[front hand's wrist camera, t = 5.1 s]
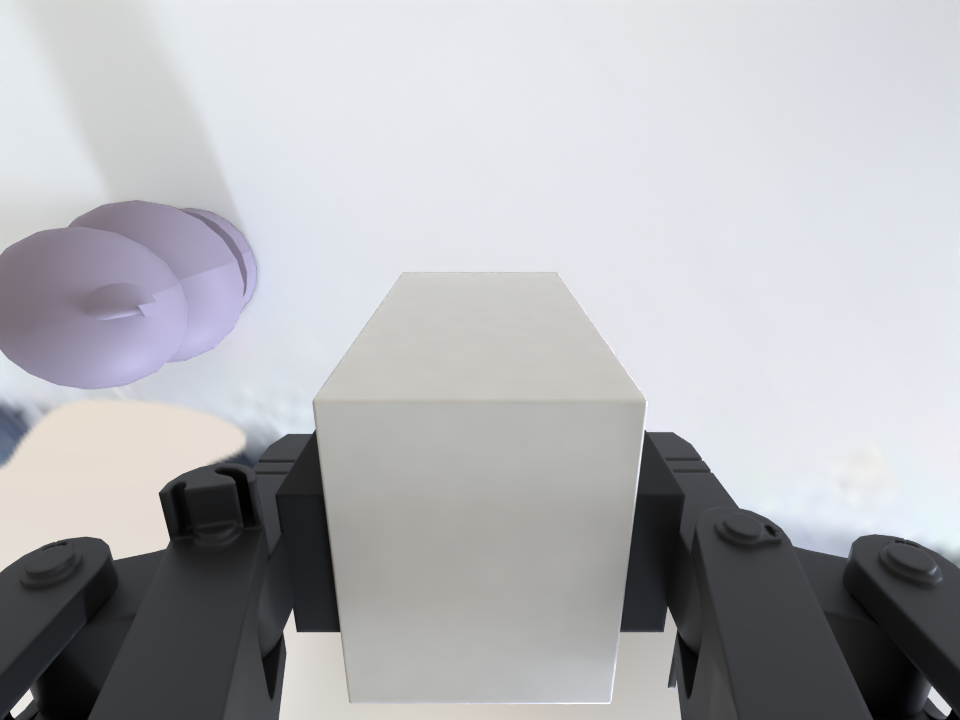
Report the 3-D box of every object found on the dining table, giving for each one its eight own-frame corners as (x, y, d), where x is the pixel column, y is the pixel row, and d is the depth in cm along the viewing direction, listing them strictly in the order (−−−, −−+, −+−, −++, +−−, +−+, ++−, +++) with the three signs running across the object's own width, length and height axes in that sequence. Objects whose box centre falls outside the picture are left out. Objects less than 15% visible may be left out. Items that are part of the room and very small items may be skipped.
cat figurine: (136, 331, 31) (-56, 425, 20) (107, 192, 29) (-133, 210, 17) (281, 335, 31) (172, 431, 20) (267, 197, 29) (131, 218, 17)
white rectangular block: (411, 446, 18) (348, 705, 9) (402, 272, 16) (311, 400, 7) (548, 446, 18) (611, 705, 9) (558, 272, 16) (649, 400, 7)
